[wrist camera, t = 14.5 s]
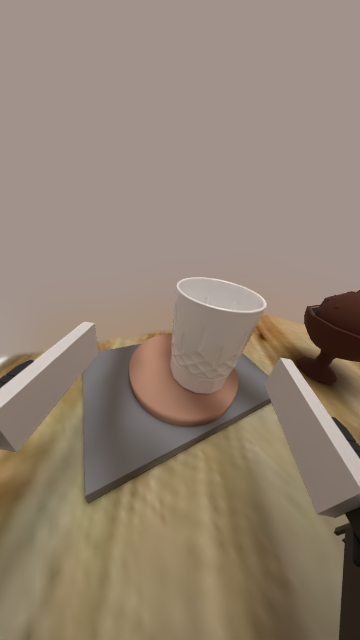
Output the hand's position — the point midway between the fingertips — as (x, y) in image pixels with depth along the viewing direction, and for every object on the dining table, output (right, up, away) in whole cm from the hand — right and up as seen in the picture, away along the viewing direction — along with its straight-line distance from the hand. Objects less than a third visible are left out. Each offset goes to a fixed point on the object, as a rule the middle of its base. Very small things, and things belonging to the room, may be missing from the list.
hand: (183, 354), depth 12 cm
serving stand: (0, -5, +10) cm, 11 cm away
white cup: (+2, -4, +8) cm, 9 cm away
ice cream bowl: (+22, -6, +16) cm, 28 cm away
